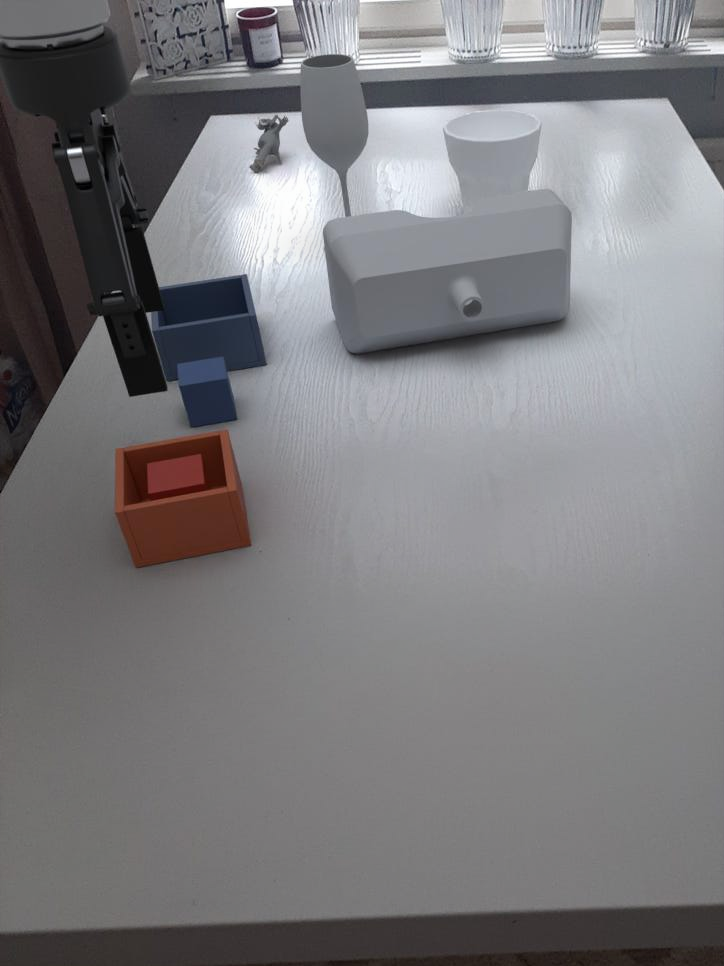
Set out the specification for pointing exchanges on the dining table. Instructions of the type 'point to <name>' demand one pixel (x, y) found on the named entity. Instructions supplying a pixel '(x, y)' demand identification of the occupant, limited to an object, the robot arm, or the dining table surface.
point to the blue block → (206, 391)
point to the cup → (492, 152)
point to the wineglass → (334, 113)
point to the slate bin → (208, 324)
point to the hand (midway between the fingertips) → (148, 349)
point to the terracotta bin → (180, 502)
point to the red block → (177, 477)
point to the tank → (449, 271)
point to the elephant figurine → (268, 141)
